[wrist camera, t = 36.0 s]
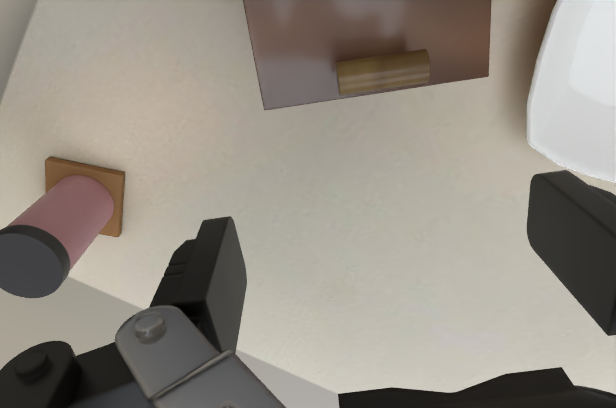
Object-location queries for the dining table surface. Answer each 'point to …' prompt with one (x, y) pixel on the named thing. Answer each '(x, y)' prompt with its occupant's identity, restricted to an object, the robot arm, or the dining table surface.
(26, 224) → the tube
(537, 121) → the bowl
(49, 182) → the cork mat
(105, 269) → the dining table surface
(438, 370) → the dining table surface
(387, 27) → the lid
